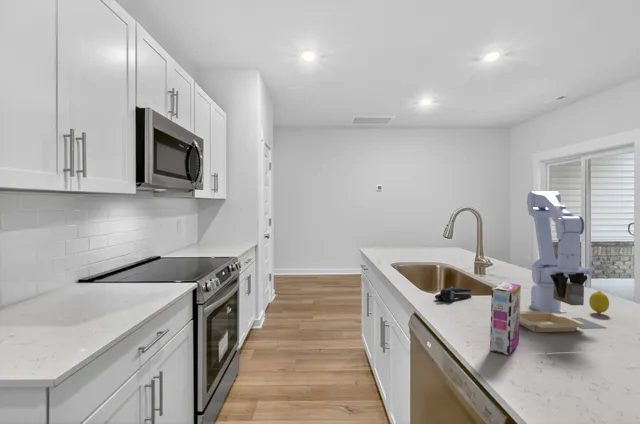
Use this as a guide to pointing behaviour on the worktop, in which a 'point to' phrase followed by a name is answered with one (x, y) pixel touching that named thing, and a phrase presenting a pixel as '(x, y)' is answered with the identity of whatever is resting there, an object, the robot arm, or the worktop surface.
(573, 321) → the carton
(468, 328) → the worktop surface
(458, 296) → the can opener
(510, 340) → the candy bar box
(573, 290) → the walnut box
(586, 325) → the rubber mat
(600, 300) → the lemon
